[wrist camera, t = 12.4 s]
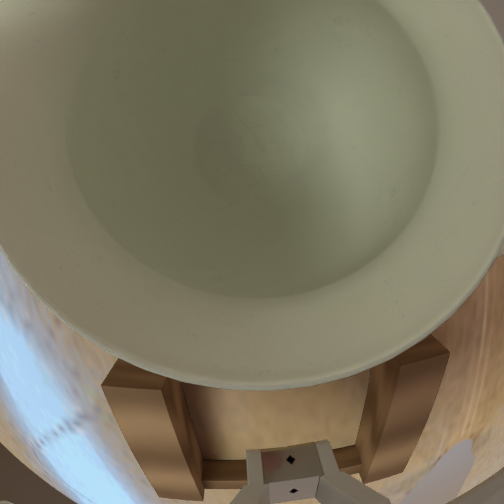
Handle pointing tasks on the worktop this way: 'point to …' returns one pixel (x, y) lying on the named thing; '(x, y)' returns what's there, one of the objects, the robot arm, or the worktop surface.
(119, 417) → the holder
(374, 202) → the pitcher
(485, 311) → the worktop surface
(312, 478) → the robot arm
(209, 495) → the worktop surface
